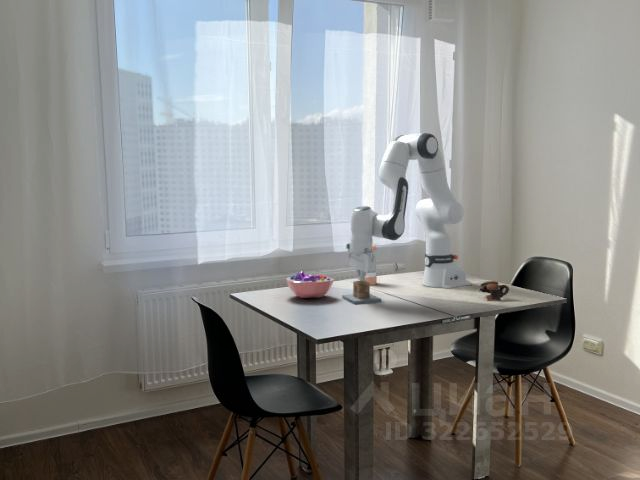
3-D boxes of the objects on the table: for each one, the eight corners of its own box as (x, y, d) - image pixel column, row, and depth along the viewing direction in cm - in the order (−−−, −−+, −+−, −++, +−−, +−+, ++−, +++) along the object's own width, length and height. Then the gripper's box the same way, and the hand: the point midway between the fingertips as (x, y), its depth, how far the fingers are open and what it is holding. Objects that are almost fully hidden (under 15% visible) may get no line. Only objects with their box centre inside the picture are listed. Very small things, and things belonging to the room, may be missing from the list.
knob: (364, 295, 266) (364, 279, 266) (369, 297, 262) (369, 281, 261) (353, 296, 265) (353, 280, 264) (358, 298, 260) (358, 282, 259)
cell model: (329, 303, 258) (329, 275, 256) (281, 301, 262) (281, 274, 260) (337, 294, 274) (337, 268, 272) (291, 292, 278) (291, 266, 276)
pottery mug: (479, 301, 261) (476, 282, 264) (483, 307, 269) (480, 288, 273) (510, 296, 257) (506, 276, 260) (513, 302, 265) (509, 283, 269)
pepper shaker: (376, 282, 299) (377, 241, 296) (376, 285, 291) (376, 243, 289) (361, 281, 299) (361, 241, 297) (360, 285, 292) (360, 243, 289)
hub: (368, 295, 271) (368, 282, 270) (381, 301, 260) (381, 287, 259) (342, 298, 267) (342, 284, 266) (354, 304, 256) (354, 290, 255)
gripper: (380, 249, 252) (380, 284, 254) (358, 243, 271) (358, 275, 273) (365, 250, 250) (365, 285, 252) (344, 244, 268) (344, 276, 270)
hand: (361, 280), depth 262 cm, fingers closed
